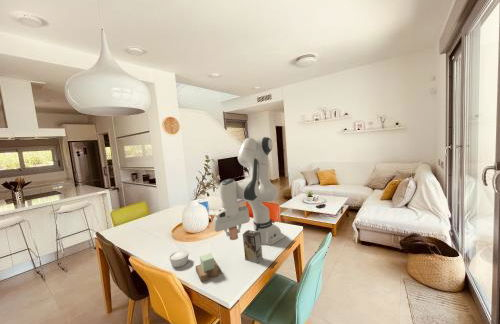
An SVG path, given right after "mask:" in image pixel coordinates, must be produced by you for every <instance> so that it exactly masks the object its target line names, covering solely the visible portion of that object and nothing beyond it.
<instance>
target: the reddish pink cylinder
mask: <svg viewBox="0 0 500 324" xmlns="http://www.w3.org/2000/svg"><path fill="white" fill-rule="evenodd" d="M237 229H238V226H235V227H231V228H228V229H227V230H228V232H229V233H230V236H228V238H229V240H231V241H235V240H237V239H239V233H238V232H237Z"/></svg>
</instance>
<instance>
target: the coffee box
mask: <svg viewBox="0 0 500 324" xmlns="http://www.w3.org/2000/svg"><path fill="white" fill-rule="evenodd" d="M242 241H243V242H242V243H243V249H244V251H243V252H244V259H245V261H249V262H252V263H255V264H258V263H260V262H261V261H262V260H263V258H264V257H263V249H262V248H263V247H262V244H261V236H260V232H255V231H254V230H249V229H248V230H246V231H244V233H242Z"/></svg>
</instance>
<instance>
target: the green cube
mask: <svg viewBox="0 0 500 324" xmlns="http://www.w3.org/2000/svg"><path fill="white" fill-rule="evenodd" d="M199 259H200V264H201V267H202V269H203V271H204V272H206V271H209V270H211V269H214V268H215V265H214V260H215V258H214V256H213V255H212V253H211V252H209V253H206V254H203V255H200V256H199Z"/></svg>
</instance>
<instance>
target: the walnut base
mask: <svg viewBox="0 0 500 324" xmlns="http://www.w3.org/2000/svg"><path fill="white" fill-rule="evenodd" d="M214 265H215V268H214V269H211V270H209V271H206V272H204V271H203V269H202V267H201V263H199V264H198V265H195V272H196V274H197V277H198V278H199V280H200V283H202V282H206V281H207V280H209V279H212V278H215V277H218V276H220V275H222V271H221V270H222V269H221V267H220V266H219V264H218V263H217V262H216V260H215V259H214Z"/></svg>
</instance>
